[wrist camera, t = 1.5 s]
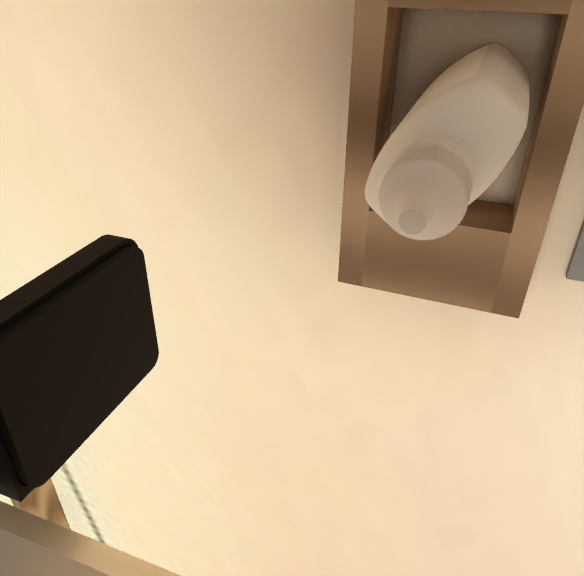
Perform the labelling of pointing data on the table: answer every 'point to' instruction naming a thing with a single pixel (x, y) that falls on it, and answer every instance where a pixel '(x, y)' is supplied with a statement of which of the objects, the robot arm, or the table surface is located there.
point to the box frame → (43, 504)
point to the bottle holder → (480, 215)
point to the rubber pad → (577, 260)
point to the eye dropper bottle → (451, 144)
